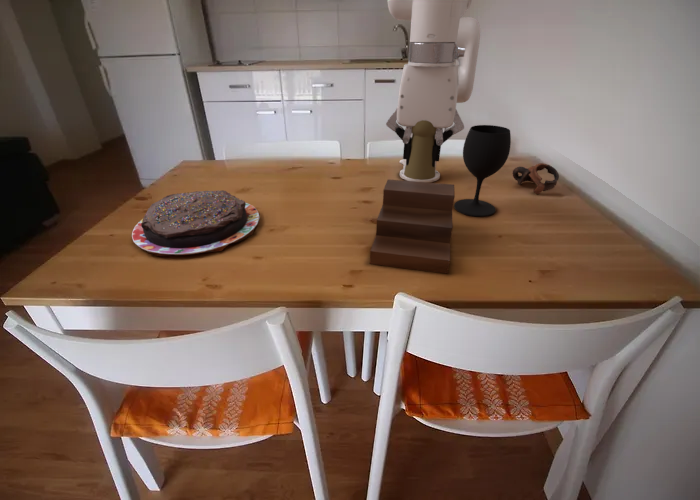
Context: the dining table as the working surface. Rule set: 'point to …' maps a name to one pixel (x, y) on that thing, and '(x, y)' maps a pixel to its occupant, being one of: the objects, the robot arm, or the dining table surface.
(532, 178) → the brown twisted piece
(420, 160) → the olive peg figure
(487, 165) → the wine glass
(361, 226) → the dining table surface
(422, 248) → the spice rack
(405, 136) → the robot arm
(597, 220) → the dining table surface
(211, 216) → the chocolate cake
